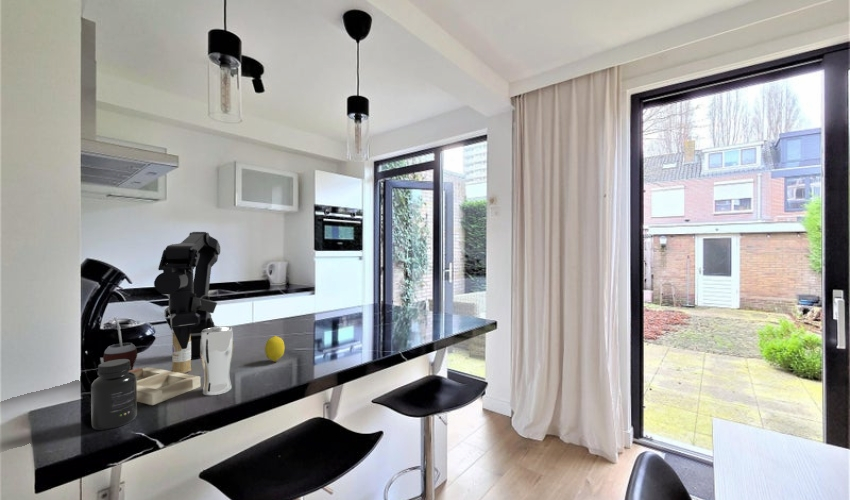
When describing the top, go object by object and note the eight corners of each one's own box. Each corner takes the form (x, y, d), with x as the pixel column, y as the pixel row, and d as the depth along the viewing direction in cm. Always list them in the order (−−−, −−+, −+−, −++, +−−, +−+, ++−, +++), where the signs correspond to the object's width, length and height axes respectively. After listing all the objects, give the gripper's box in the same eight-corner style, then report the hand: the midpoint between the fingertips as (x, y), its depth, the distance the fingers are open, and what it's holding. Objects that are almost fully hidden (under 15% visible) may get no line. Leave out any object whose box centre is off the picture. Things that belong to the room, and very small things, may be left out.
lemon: (288, 359, 109) (287, 333, 109) (278, 365, 103) (278, 338, 103) (271, 358, 109) (271, 333, 109) (261, 364, 104) (261, 337, 104)
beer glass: (209, 399, 80) (209, 334, 80) (194, 392, 84) (194, 330, 84) (239, 388, 86) (239, 328, 86) (224, 382, 90) (223, 324, 89)
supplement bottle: (83, 427, 68) (82, 365, 67) (124, 411, 74) (123, 355, 74) (104, 433, 65) (103, 370, 65) (144, 417, 71) (144, 359, 71)
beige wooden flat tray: (96, 391, 84) (96, 380, 84) (146, 375, 95) (146, 365, 95) (152, 405, 77) (152, 392, 77) (200, 386, 87) (200, 375, 87)
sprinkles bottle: (168, 373, 96) (167, 325, 96) (185, 368, 101) (184, 321, 101) (178, 375, 95) (178, 326, 95) (195, 370, 99) (195, 323, 99)
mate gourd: (124, 378, 93) (123, 322, 93) (92, 379, 92) (92, 323, 92) (144, 368, 100) (144, 317, 100) (115, 369, 100) (115, 317, 100)
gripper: (221, 290, 96) (221, 346, 96) (207, 285, 110) (208, 334, 110) (171, 294, 88) (172, 355, 89) (164, 287, 102) (164, 340, 102)
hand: (181, 345), depth 98 cm, fingers open, 9 cm apart
